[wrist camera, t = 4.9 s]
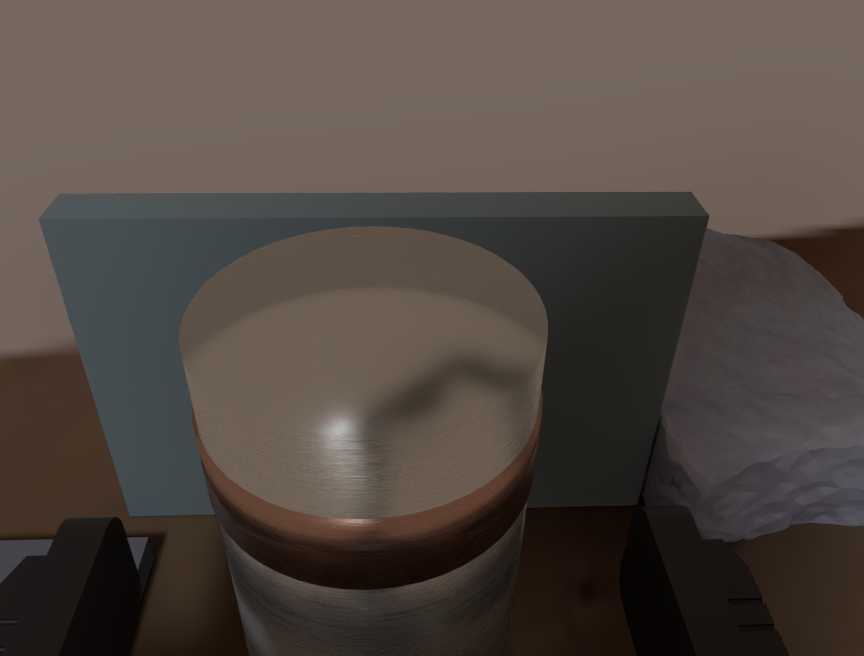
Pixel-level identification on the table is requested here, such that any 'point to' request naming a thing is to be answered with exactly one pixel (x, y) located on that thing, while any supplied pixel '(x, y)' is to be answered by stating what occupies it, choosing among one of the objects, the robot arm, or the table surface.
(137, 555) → the dark rubber mat
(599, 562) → the table surface
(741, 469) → the stone block
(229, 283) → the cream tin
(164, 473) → the slate screen
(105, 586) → the robot arm
